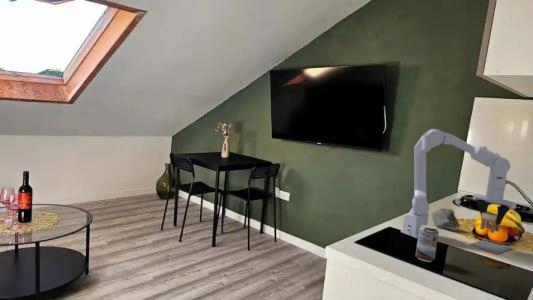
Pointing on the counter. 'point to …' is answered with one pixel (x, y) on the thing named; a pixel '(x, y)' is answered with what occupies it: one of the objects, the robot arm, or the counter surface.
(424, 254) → the beverage can
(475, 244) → the mat
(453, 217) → the stone
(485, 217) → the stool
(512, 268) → the counter surface
